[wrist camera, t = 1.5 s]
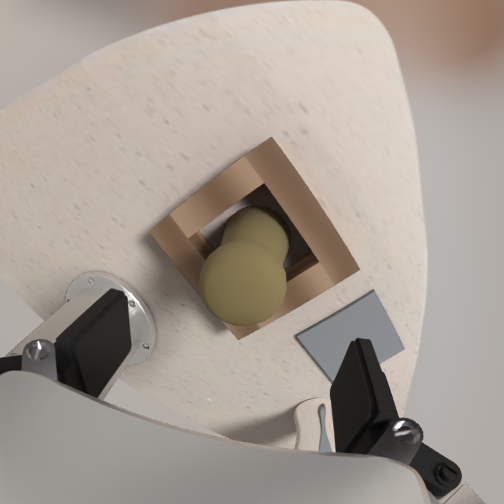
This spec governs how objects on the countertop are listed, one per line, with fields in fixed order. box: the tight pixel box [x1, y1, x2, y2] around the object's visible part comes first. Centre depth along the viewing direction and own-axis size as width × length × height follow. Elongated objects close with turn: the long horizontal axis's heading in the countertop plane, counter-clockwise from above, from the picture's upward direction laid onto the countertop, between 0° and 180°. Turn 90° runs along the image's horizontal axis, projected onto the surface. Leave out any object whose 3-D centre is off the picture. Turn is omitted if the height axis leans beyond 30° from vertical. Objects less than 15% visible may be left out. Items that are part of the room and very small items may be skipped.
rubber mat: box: [297, 290, 405, 381], centre depth 28 cm, size 9×9×1 cm
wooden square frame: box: [149, 137, 360, 340], centre depth 25 cm, size 13×13×3 cm
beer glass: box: [293, 398, 335, 452], centre depth 26 cm, size 7×7×15 cm
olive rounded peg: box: [199, 206, 290, 326], centre depth 21 cm, size 6×6×11 cm
